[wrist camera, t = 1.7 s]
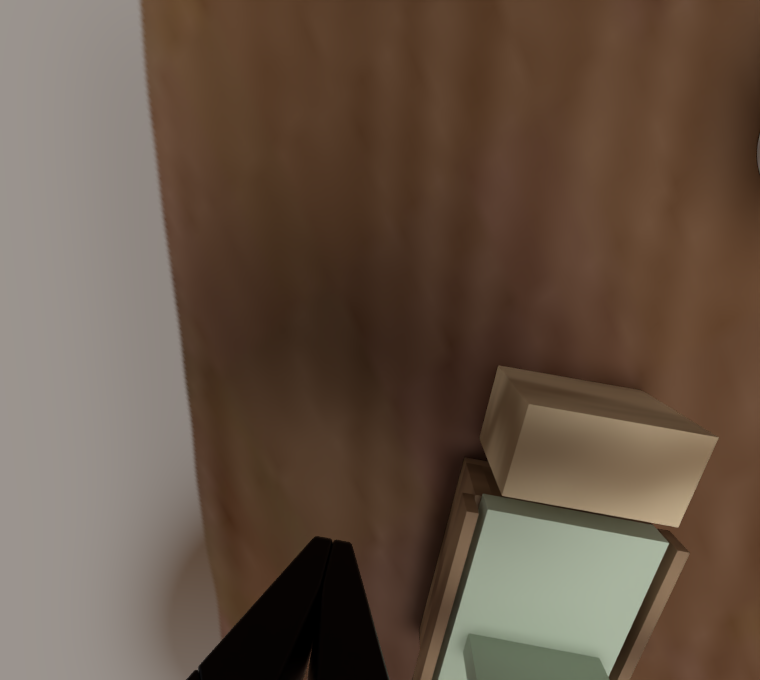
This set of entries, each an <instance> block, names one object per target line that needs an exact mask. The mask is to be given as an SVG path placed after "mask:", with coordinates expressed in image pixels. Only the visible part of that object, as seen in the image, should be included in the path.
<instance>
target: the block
mask: <svg viewBox="0 0 760 680" xmlns="http://www.w3.org/2000/svg"><path fill="white" fill-rule="evenodd" d="M718 438H719V437H717V436H716V435H714V434H712V433H711V432H709V431H707V430H706V429H704V428H703V427H701V426H699V425H698V424H696V423H694V422H693V421H691V420H689V419H688V418H686V417H685V416H683V415H681V414H680V413H678V412H676V411H675V410H673V409H672V408H670V407H668V406H667V405H665V404H663V403H662V402H660V401H659V400H657V399H655V398H654V397H652V396H650V395H649V394H647V393H645V392H644V391H642V390H637V389H631V388H625V387H620V386H614V385H608V384H603V383H597V382H591V381H585V380H580V379H574V378H568V377H562V376H557V375H551V374H545V373H540V372H534V371H528V370H522V369H517V368H511V367H505V366H499V365H498V368H497V372H496V376H495V380H494V384H493V387H492V391H491V395H490V399H489V403H488V407H487V410H486V414H485V418H484V422H483V426H482V430H481V433H480V437H479V439H480V442H481V444H482V447H483V449H484V452H485V454H486V457H487V459H488V462H489V464H490V467H491V469H492V472H493V475H494V477H495V480H496V482H497V485H498V487H499V490H500V492H501V495H502V496H506V497H512V498H517V499H523V500H528V501H534V502H539V503H545V504H551V505H556V506H562V507H567V508H573V509H578V510H584V511H589V512H595V513H601V514H606V515H612V516H617V517H623V518H628V519H634V520H640V521H645V522H651V523H656V524H662V525H667V526H673V527H679V524H680V522H681V520H682V518H683V516H684V513H685V511H686V509H687V507H688V504H689V502H690V500H691V498H692V496H693V493H694V491H695V489H696V487H697V485H698V482H699V480H700V478H701V476H702V473H703V471H704V469H705V467H706V465H707V462H708V460H709V458H710V456H711V453H712V451H713V449H714V447H715V445H716V442H717V440H718Z"/></svg>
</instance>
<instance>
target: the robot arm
mask: <svg viewBox="0 0 760 680" xmlns="http://www.w3.org/2000/svg"><path fill="white" fill-rule="evenodd" d="M332 543H333V544H332ZM311 649H312V651H311ZM310 653H311V657H310ZM309 657H310V664H309V671H308V680H389V676H388V673H387V669H386V666H385V662H384V658H383V655H382V651H381V647H380V644H379V640H378V637H377V633H376V629H375V626H374V622H373V619H372V615H371V611H370V608H369V604H368V600H367V597H366V593H365V590H364V586H363V582H362V579H361V575H360V572H359V568H358V564H357V561H356V557H355V553H354V550H353V546H352V544H351V543H350V542H346V541H340V540H334V541H333V542H332V540H331V539H330V538H324V537H319V536H316V537H314V538H313V539H312V540H311V541H310V542H309V543H308V544H307V546H306V547H305V548H304V549H303V550H302V551H301V552H300V553H299V554H298V556H297V557H296V558H295V559H294V560H293V561H292V562H291V563H290V565H289V566H288V567H287V568H286V569H285V570H284V571H283V572H282V573H281V575H280V576H279V577H278V578H277V579H276V580H275V581H274V582H273V584H272V585H271V586H270V587H269V588H268V589H267V590H266V591H265V592H264V594H263V595H262V596H261V597H260V598H259V599H258V600H257V601H256V603H255V604H254V605H253V606H252V607H251V608H250V609H249V610H248V611H247V613H246V614H245V615H244V616H243V617H242V618H241V619H240V620H239V622H238V623H237V624H236V625H235V626H234V627H233V628H232V629H231V630H230V632H229V633H228V634H227V635H226V636H225V637H224V638H223V639H222V641H221V642H220V643H219V644H218V645H217V646H216V647H215V648H214V650H213V651H212V652H211V653H210V654H209V655H208V656H207V657H206V658H205V660H204V661H203V662H202V663H201V664H200V665H199V667H198V670H195V671H194V672H193V673H192V674H191V675H190V676H189V677H188V678H187V679H186V680H303V678H304V675H305V671H306V668H307V664H308V661H309Z"/></svg>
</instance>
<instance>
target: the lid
mask: <svg viewBox="0 0 760 680" xmlns="http://www.w3.org/2000/svg"><path fill="white" fill-rule="evenodd" d="M478 513H479V515H478V518H477V522H476V525H475V529H474V532H473V536H472V539H471V543H470V546H469V550H468V553H467V557H466V560H465V564H464V567H463V571H462V574H461V578H460V581H459V585H458V588H457V592H456V595H455V599H454V602H453V606H452V609H451V613H450V616H449V620H448V623H447V627H446V630H445V634H444V637H443V641H442V644H441V648H440V651H439V655H438V658H437V662H436V665H435V669H434V672H433V676H432V679H431V680H610V679H609V675H610V672H611V670H612V668H613V666H614V664H615V661H616V659H617V657H618V655H619V653H620V650H621V648H622V646H623V644H624V642H625V639H626V637H627V635H628V633H629V631H630V628H631V626H632V624H633V622H634V620H635V617H636V615H637V613H638V611H639V609H640V606H641V604H642V602H643V600H644V598H645V595H646V593H647V591H648V589H649V587H650V584H651V582H652V580H653V578H654V576H655V573H656V571H657V569H658V567H659V565H660V562H661V560H662V558H663V556H664V554H665V551H666V549H667V547H668V545H669V542H668V541H667V540H666V539H665V538H664V537H663V536H662V534H661V533H660V532H659V531H658V530H657V529H656V528H655V527H654V525H650V524H644V523H639V522H633V521H628V520H623V519H617V518H612V517H606V516H601V515H596V514H590V513H585V512H579V511H574V510H569V509H563V508H558V507H552V506H547V505H542V504H536V503H531V502H525V501H520V500H515V499H509V498H504V497H498V496H493V495H488V494H482V498H481V501H480V505H479V509H478Z"/></svg>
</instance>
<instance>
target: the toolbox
mask: <svg viewBox="0 0 760 680" xmlns="http://www.w3.org/2000/svg"><path fill="white" fill-rule="evenodd" d="M482 494H488V495H493V496H498V497H504V498H509V499H515V500H520V501H525V502H531V503H536V504H542V505H547V506H552V507H558V508H563V509H569V510H574V511H579V512H585V513H590V514H596V515H601V516H606V517H612V518H617V519H623V520H628V521H633V522H639V523H644V524H650V525H652V524H651V522H645V521H640V520H634V519H628V518H623V517H617V516H612V515H606V514H601V513H595V512H589V511H584V510H578V509H573V508H567V507H562V506H556V505H551V504H545V503H539V502H534V501H528V500H523V499H517V498H512V497H506V496H502V495H501V492H500V490H499V487H498V485H497V482H496V480H495V477H494V475H493V472H492V469H491V467H490V464H489V462H488V461H483V460H477V459H472V458H467V457H464V461H463V465H462V468H461V472H460V476H459V480H458V484H457V488H456V491H455V495H454V499H453V503H452V507H451V511H450V514H449V518H448V522H447V526H446V530H445V534H444V537H443V541H442V545H441V549H440V553H439V557H438V560H437V564H436V568H435V572H434V576H433V580H432V583H431V587H430V591H429V595H428V599H427V603H426V606H425V610H424V614H423V618H422V622H421V626H420V629H419V638H420V652H419V656H418V660H417V664H416V667H415V671H414V675H413V679H412V680H431V679H432V676H433V672H434V669H435V665H436V662H437V658H438V655H439V651H440V648H441V644H442V641H443V637H444V634H445V630H446V627H447V623H448V620H449V616H450V613H451V609H452V606H453V602H454V599H455V595H456V592H457V588H458V585H459V581H460V578H461V574H462V571H463V567H464V564H465V560H466V557H467V553H468V550H469V546H470V543H471V539H472V536H473V532H474V529H475V525H476V522H477V518H478V515H479V513H478V509H479V505H480V501H481V498H482ZM658 531H659V532H660V533H661V534H662V536H663V537H664V538H665V539H666V540H667V541H668V542H669V545H668V547H667V549H666V551H665V554H664V556H663V558H662V560H661V562H660V565H659V567H658V569H657V571H656V573H655V576H654V578H653V580H652V582H651V584H650V587H649V589H648V591H647V593H646V595H645V598H644V600H643V602H642V604H641V606H640V609H639V611H638V613H637V615H636V617H635V620H634V622H633V624H632V626H631V628H630V631H629V633H628V635H627V637H626V639H625V642H624V644H623V646H622V648H621V650H620V653H619V655H618V657H617V659H616V661H615V664H614V666H613V668H612V670H611V672H610V675H609V679H610V680H630V678H631V676H632V673H633V671H634V669H635V667H636V665H637V663H638V661H639V659H640V657H641V655H642V652H643V650H644V648H645V646H646V644H647V642H648V640H649V638H650V636H651V634H652V631H653V629H654V627H655V625H656V623H657V621H658V619H659V617H660V615H661V613H662V610H663V608H664V606H665V604H666V602H667V600H668V598H669V596H670V594H671V592H672V589H673V587H674V585H675V583H676V581H677V579H678V577H679V575H680V573H681V571H682V568H683V566H684V564H685V562H686V560H687V558H688V556H689V554H690V552H689V551H688V550H687V549H686V548H685V547H684V546H683V545H682V544H681V543H680V542H679V541H678V540H677V538H676V537H675V536H674V535H673V534H672V533H671V532H670V531H668V530H662V529H658Z"/></svg>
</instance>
